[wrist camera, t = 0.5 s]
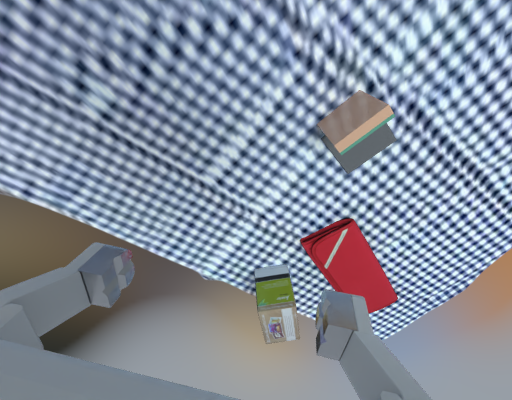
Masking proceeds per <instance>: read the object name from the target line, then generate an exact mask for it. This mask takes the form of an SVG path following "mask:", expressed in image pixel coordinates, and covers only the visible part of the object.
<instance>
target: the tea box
mask: <svg viewBox="0 0 512 400" xmlns="http://www.w3.org/2000/svg"><path fill="white" fill-rule="evenodd" d="M255 284H256V297H257V310H258V316H259V319H260V323H261V326H262V331H263V334H264V338H265V342H266V344H270V343H277V342H283V341H289V340H296V339H300V336H299V327H298V319H297V310H296V303H295V298H294V293H293V289H292V284H291V279H290V275H289V270H288V266H287V264H285V265H278V266H271V267H264V268H258V269H255Z"/></svg>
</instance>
